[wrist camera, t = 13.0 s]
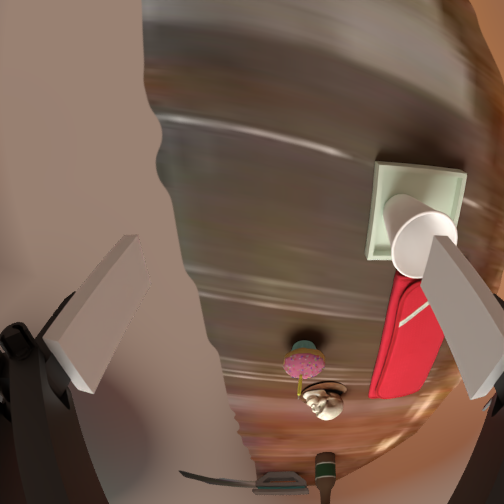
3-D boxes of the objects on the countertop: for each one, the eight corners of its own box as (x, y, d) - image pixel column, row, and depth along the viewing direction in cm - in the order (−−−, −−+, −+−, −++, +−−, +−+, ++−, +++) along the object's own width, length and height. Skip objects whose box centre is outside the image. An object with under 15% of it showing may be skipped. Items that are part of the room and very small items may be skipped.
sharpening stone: (308, 470, 107) (307, 491, 98) (309, 474, 111) (308, 494, 102) (254, 471, 112) (252, 491, 103) (257, 475, 116) (255, 494, 106)
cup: (436, 194, 40) (469, 226, 31) (409, 246, 46) (434, 286, 36) (386, 171, 40) (414, 199, 30) (360, 228, 45) (378, 268, 36)
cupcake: (308, 363, 64) (309, 408, 53) (275, 351, 62) (273, 398, 52) (331, 341, 59) (336, 388, 49) (297, 327, 58) (298, 376, 48)
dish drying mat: (366, 393, 70) (368, 404, 67) (391, 269, 50) (397, 281, 46) (418, 385, 68) (421, 395, 64) (462, 261, 47) (470, 272, 44)
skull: (290, 404, 72) (302, 418, 62) (304, 370, 74) (318, 379, 64) (328, 413, 73) (343, 426, 63) (342, 380, 75) (359, 389, 65)
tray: (374, 160, 40) (379, 164, 38) (460, 169, 38) (467, 173, 36) (364, 252, 48) (367, 259, 46) (442, 253, 46) (447, 259, 44)
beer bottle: (322, 450, 92) (322, 506, 72) (338, 452, 93) (340, 506, 73) (311, 456, 96) (310, 509, 76) (327, 458, 97) (327, 509, 77)
